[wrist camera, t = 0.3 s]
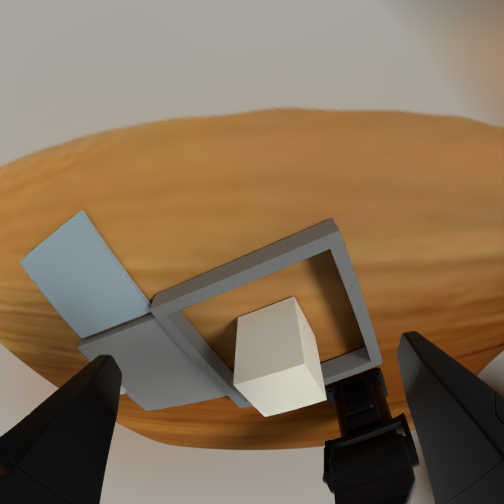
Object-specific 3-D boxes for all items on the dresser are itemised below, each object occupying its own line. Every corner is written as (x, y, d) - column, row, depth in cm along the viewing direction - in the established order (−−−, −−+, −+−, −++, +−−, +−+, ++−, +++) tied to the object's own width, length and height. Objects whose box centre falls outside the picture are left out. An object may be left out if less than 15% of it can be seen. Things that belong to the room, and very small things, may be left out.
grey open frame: (377, 348, 27) (382, 363, 25) (155, 410, 33) (152, 423, 31) (332, 218, 20) (339, 230, 19) (70, 331, 27) (63, 344, 25)
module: (314, 335, 26) (326, 399, 20) (260, 354, 27) (261, 417, 21) (293, 296, 24) (304, 363, 18) (234, 318, 25) (229, 385, 19)
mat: (153, 306, 24) (151, 311, 24) (83, 334, 27) (81, 338, 26) (83, 209, 20) (79, 212, 20) (23, 258, 22) (19, 262, 22)
